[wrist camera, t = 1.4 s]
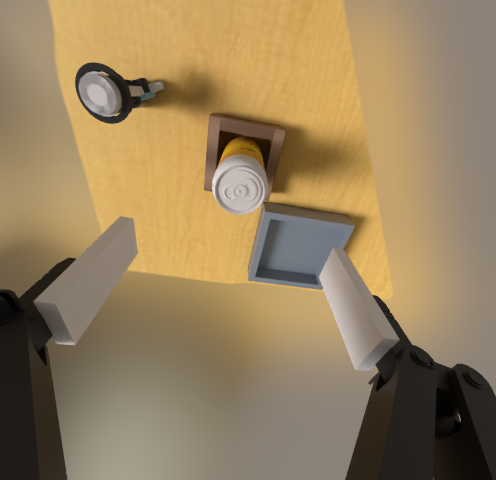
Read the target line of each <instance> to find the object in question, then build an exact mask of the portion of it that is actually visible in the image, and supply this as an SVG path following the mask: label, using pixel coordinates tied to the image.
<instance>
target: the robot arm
mask: <svg viewBox="0 0 496 480" xmlns="http://www.w3.org/2000/svg"><path fill="white" fill-rule="evenodd" d="M137 254H138V251H137V244H136V236H135V228H134V221H133V218H127V217H119V218H118V219H117V220H116V221H115V222H114V223H113V224H112V225H111V226H110V227H109V228H108V229H107V230H106V231H105V232H104V233H103V234H102V235H101V236H100V237H99V238H98V239H97V240H96V241H95V242H94V243H93V244H92V245H91V246H90V247H89V248H87V249H86V250H85V252H83V253H82V254H81V255H80V256H79V257H78V258H77V259H75V258H68V259H66V260H64V261H62V262H60V263H58V264H56V265H55V266H54V267H53V268H52V269H51V270H50V271H49V272H48V273H47V274H45V275H44V276H43V277H42V279H41V280H39V281H38V282H36V283H35V284H34V285H33V286H32V287H31V288H30V289H29V290H27V291H26V292H25V293H24V294H23V295H22V296H21V297H20V298H19V299H18V297H17V296H16V294H15V292H13V291H11V290H0V480H67V475H66V467H65V461H64V454H63V447H62V441H61V434H60V427H59V421H58V415H57V407H56V401H55V394H54V387H53V380H52V374H51V368H50V361H49V355H48V348H47V346H46V343H47V341H48V340H49V339H50V338H51V337H52V336H53V338H54V340H55V342H56V343H57V344H68V345H76V343H77V341H78V340H79V339H80V337H81V336H82V334H83V333H84V331H85V330H86V328H87V327H88V325H89V324H90V323H91V321H92V320H93V318H94V317H95V315H96V314H97V312H98V311H99V309H100V307H101V306H102V305H103V303H104V302H105V301H106V299H107V297H108V296H109V295H110V293H111V292H112V290H113V289H114V287H115V286H116V284H117V283H118V281H119V280H120V279H121V277H122V276H123V274H124V273H125V271H126V270H127V268H128V267H129V265H130V264H131V262H132V261H133V259H134V258H135V257H136V255H137ZM319 279H320V281H321V284H322V286H323V289H324V291H325V294H326V297H327V299H328V302H329V304H330V307H331V309H332V311H333V314H334V317H335V319H336V322H337V325H338V327H339V330H340V332H341V335H342V337H343V340H344V342H345V345H346V347H347V350H348V353H349V355H350V358H351V360H352V363H353V365H354V368H355V370H365V371H370V370H371V369H372V367H374V366H375V365H376V366H377V368H378V371H379V372H378V373H377V374H376V375H375V376H374V377H373V378H372V379H371V380H370V381H369V384H370V385H371V384H372V383H373V382H374V384H373V387H372V390H371V394H370V397H369V401H368V404H367V407H366V411H365V414H364V418H363V421H362V424H361V428H360V431H359V435H358V438H357V441H356V445H355V448H354V452H353V455H352V459H351V462H350V465H349V469H348V472H347V476H346V479H345V480H433V478H434V480H496V396H495V394H494V392H493V390H492V388H491V386H490V385H489V383H488V382H487V380H485V378H484V377H483V376H482V375H481V374H480V373H478V372H477V371H476V370H474V369H472V368H471V367H469V366H467V365H464V364H456V365H455V366H454V367H453V368H449V367H446V366H443V365H441V364H438V363H436V362H434V360H433V359H432V358H431V357H430V355H429V354H428V353H426V352H425V351H424V350H423V349H421V348H419V347H417V346H414V345H412V344H411V342H410V341H409V339H408V338H407V336H406V335H405V333H404V332H403V330H402V329H401V327H400V325H399V324H398V322H397V321H396V320H395V319H394V316H393V315H392V313H390V310H389V309H388V307H387V306H386V304H385V303H384V302H383V301H382V300H381V299H380V298H379V297H378V296H375V295H372V294H371V292H370V291H369V289H368V288H367V286H366V284H365V283H364V281H363V280H362V278H361V276H360V275H359V273H358V271H357V270H356V268H355V267H354V265H353V263H352V262H351V260H350V259H349V257H348V255H347V254H346V252H345V251H344V249H340V248H333V249H332V251H331V253H330V255H329V257H328V259H327V261H326V263H325V265H324V267H323V269H322V271H321V273H320V275H319ZM458 414H459V415H460V418H461V422H460V420H459V417H458Z"/></svg>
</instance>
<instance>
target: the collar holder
mask: <svg viewBox="0 0 496 480" xmlns="http://www.w3.org/2000/svg"><path fill="white" fill-rule="evenodd" d="M221 130H222V131H227V132H232V133H238V134H243V135H248V136H253V137H258V138H263V139H269V140H270V141H269V146H268V151H267V155H266V160H265V165H264V167H265V172H266V176H267V181H268V193H267V196H266V198H265V200H266V201H269V198H270V194H271V190H272V186H273V182H274V178H275V174H276V169H277V165H278V161H279V157H280V153H281V149H282V145H283V141H284V137H285V133H286V130H285V129H284V128H283V127H279V126H274V125H269V124H264V123H259V122H254V121H249V120H244V119H239V118H234V117H229V116H224V115H219V114H214V113H212V114H210V115H209V124H208V139H207V154H206V169H205V184H204V190H205V191H212V181H213V177H214V174H215V172H216V169H217V167H218V160H219V150H220V139H221ZM212 192H213V191H212Z"/></svg>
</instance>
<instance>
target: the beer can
mask: <svg viewBox="0 0 496 480" xmlns="http://www.w3.org/2000/svg"><path fill="white" fill-rule="evenodd" d="M212 191H213V195H214V197H215V199H216V201H217V202H218V203H219V205H220V206H221V207H222V208H223V209H224V210H226V211H228V212H230V213H232V214H237V215H244V214H248V213H251V212H253V211H255V210H256V209H257V208H258V207H259V206H260V205H261V204H262V203H263V202H264V200H265V198H266V196H267V193H268V181H267V176H266V172H265V167H264V163H263V159H262V154H261V150H260V148H259V146H258V145H257V144H256V143H255V142H254V141H253V140H251V139H249V138H246V137H238V138H235V139H233V140H231V141H230V142H229V143H228V144H227V145H226V147H225V149H224V152H223V154H222V157H221V159H220V162H219V164H218V167H217V169H216V172H215V174H214V177H213V181H212Z"/></svg>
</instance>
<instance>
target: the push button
mask: <svg viewBox="0 0 496 480" xmlns="http://www.w3.org/2000/svg"><path fill="white" fill-rule="evenodd" d="M101 71H103V72H105V73H107V74H108V75H110V76H108V75H105V74H103V73H100V72H101ZM75 85H76V91H77V94H78V97H79V99H80V101H81V103H82V105H83V106H84V107H85V109H86V110H87V111H88V112H89V113H90V114H91V115H92V116H93V117H95V118H96V119H98V120H100V121H102V122H105V123H110V124H113V123H119V122H121V121H123V120H124V119H125V118H126V117H127V116H128V114H129V113H130V112H131V111H132V108H140V107H143V106H147V105H142V103H141V101H144V100H147V99H150V98H153V97H156V96H155V93H157V92H158V91H159V90H162V89H164V86H163V83H162V82H156V83H152V82H151V83H150V82H147V80H146V78H140V79H137V80H124V79H123V77H122V76H121V75H119V74H117V73H116V72H115V71H114V70H113V69H111V68H110V67H108V66H106V65H103V64H100V63H87V64H85V65H83V66H82V67H81V68H80V69H79V70H78V72H77V75H76V80H75ZM158 85H159V87H158ZM117 113H120V114H119V115H118V116H113V115H115V114H117Z"/></svg>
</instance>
